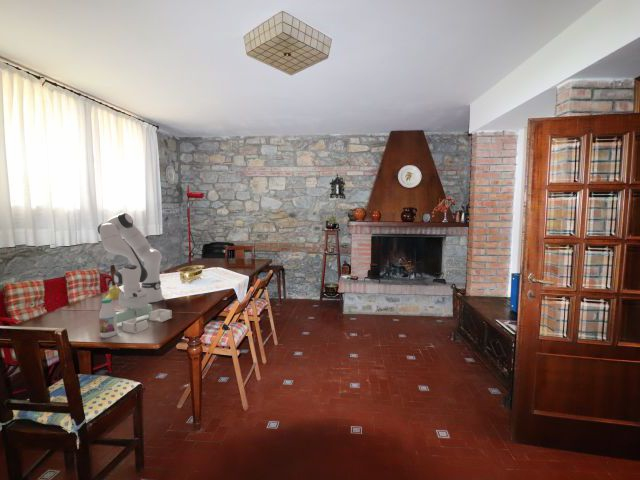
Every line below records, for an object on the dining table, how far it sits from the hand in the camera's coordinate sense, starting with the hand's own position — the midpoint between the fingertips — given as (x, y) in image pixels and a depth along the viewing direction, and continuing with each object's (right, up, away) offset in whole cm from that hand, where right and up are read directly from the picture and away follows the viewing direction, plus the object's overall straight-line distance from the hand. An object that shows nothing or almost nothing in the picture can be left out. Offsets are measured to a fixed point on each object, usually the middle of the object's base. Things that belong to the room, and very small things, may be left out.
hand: (133, 314), depth 194 cm
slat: (0, -2, 0) cm, 2 cm away
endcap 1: (+8, -6, -12) cm, 16 cm away
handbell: (-46, +1, +54) cm, 71 cm away
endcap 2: (+14, -4, +5) cm, 15 cm away
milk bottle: (-2, -7, -20) cm, 22 cm away
